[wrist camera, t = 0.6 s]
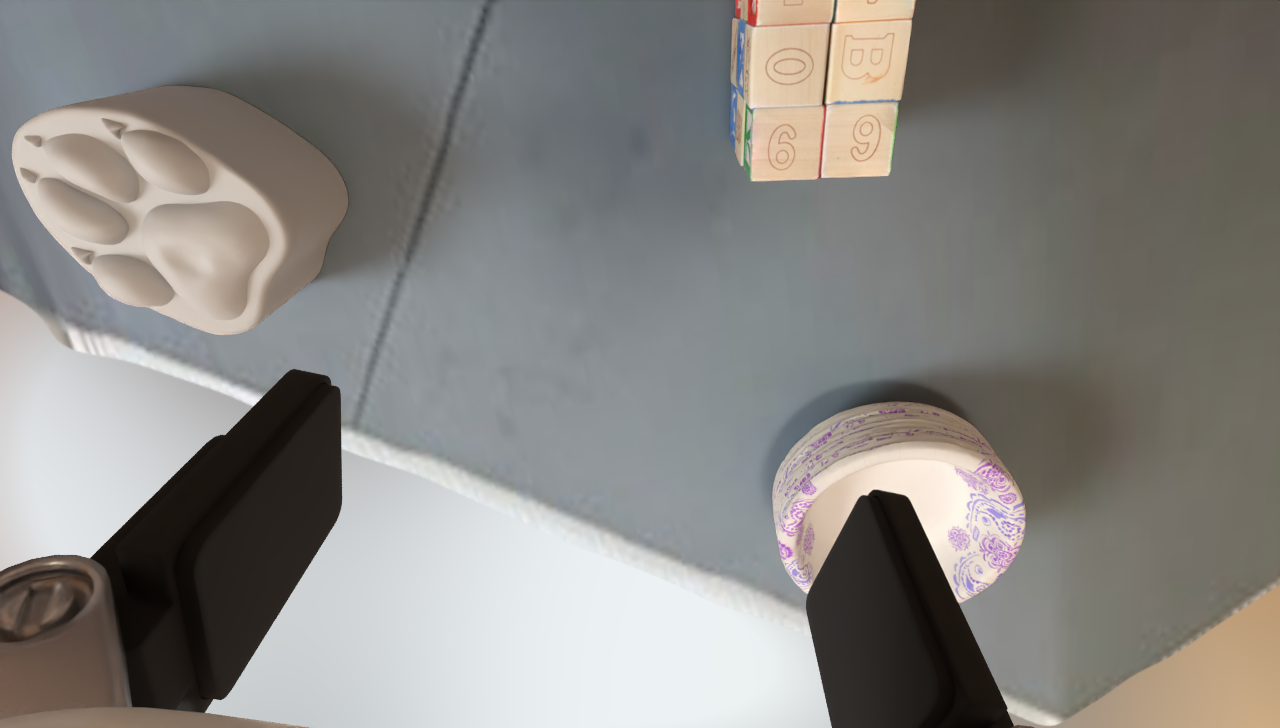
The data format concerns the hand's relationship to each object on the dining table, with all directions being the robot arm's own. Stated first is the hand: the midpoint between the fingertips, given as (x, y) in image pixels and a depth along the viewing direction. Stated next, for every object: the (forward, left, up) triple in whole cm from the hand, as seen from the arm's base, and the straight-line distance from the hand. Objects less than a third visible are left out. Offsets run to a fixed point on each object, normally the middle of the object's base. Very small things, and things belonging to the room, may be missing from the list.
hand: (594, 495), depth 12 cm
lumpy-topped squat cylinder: (+6, -24, -29) cm, 39 cm away
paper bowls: (+20, +20, -29) cm, 41 cm away
